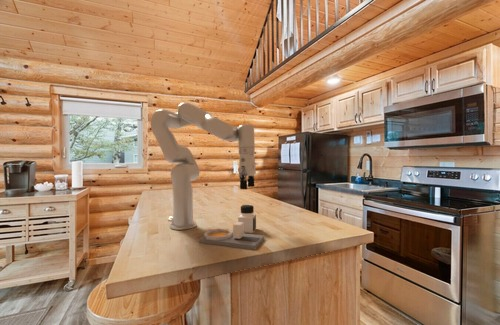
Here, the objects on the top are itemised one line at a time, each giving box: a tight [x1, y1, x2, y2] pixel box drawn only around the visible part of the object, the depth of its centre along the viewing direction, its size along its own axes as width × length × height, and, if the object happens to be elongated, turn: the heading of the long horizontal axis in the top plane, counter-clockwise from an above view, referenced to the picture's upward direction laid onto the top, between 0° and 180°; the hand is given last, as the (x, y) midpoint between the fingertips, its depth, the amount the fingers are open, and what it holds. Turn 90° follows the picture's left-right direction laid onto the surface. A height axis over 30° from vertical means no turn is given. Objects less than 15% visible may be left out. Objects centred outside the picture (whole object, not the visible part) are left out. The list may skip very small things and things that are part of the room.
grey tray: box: [198, 228, 265, 251], centre depth 98 cm, size 24×12×3 cm, turn 70°
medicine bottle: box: [237, 204, 257, 234], centre depth 111 cm, size 7×7×12 cm
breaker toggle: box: [232, 221, 245, 239], centre depth 97 cm, size 3×4×6 cm
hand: (247, 187), depth 111 cm, fingers open, 9 cm apart
